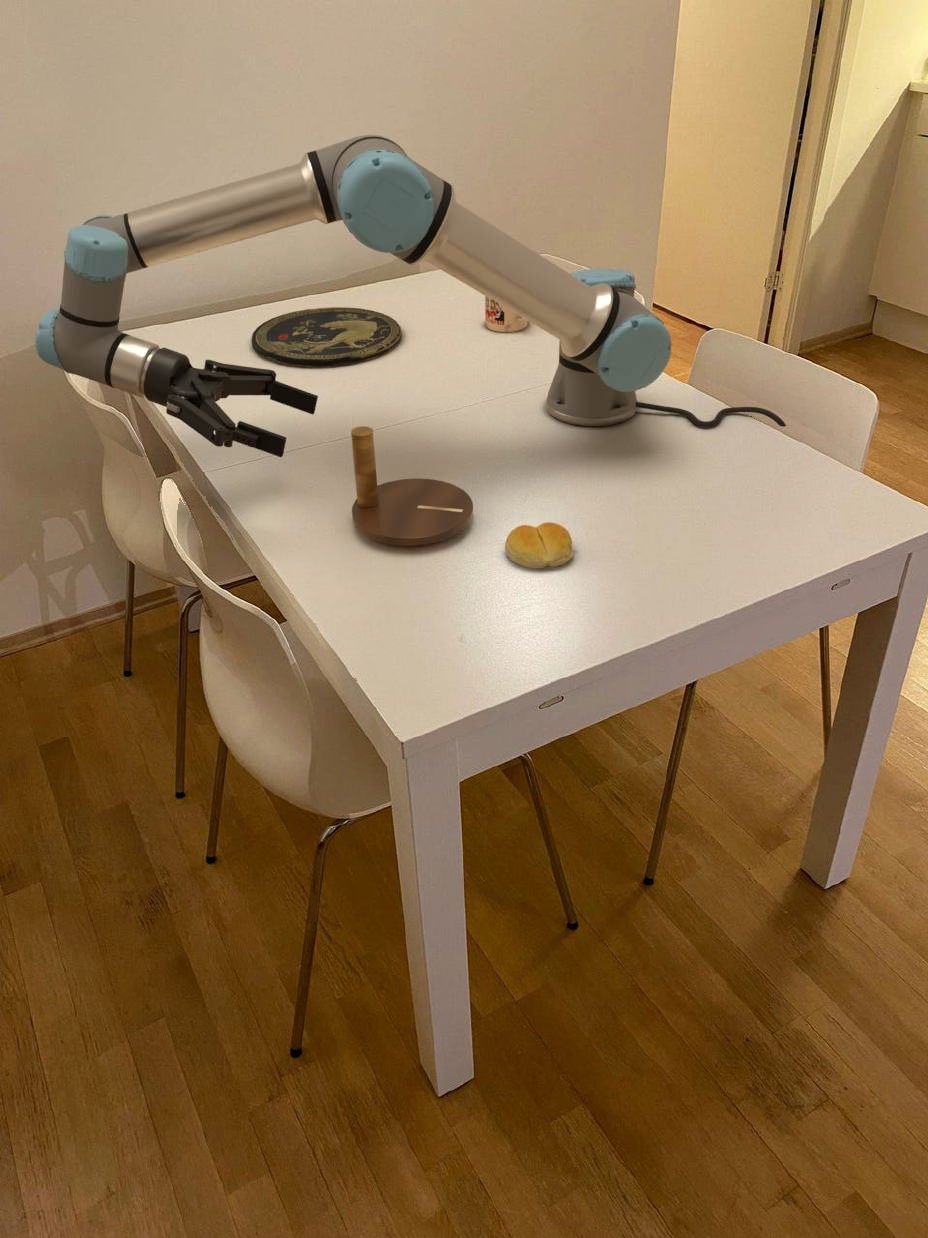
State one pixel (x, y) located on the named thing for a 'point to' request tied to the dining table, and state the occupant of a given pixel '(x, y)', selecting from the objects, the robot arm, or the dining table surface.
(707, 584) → the dining table surface
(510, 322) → the teacup with lid
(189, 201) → the robot arm
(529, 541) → the bread roll
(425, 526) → the turntable
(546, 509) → the dining table surface
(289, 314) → the decorative plate
